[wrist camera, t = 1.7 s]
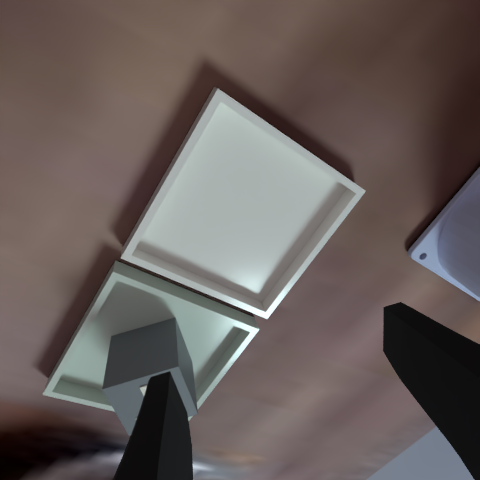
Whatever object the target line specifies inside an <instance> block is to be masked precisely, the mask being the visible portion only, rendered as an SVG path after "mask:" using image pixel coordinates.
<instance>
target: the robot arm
mask: <svg viewBox="0 0 480 480" xmlns="http://www.w3.org/2000/svg"><path fill="white" fill-rule="evenodd" d="M422 253H423V254H422ZM421 254H422V255H421ZM408 255H409V256H410V257H411V258H412V259H413V260H415V261H417V262H418V263H420V264H421V265H423V266H425V267H426V268H428V269H429V270H431V271H432V272H434V273H436V274H437V275H439V276H440V277H442V278H444V279H445V280H447V281H448V282H450V283H451V284H453V285H455V286H456V287H458V288H459V289H461V290H463V291H464V292H466V293H467V294H469V295H471V296H472V297H474V298H475V299H477V300H478V301H480V167H479V168H478V169H477V171H476V172H475V173H474V174H473V175H472V176H471V178H470V179H469V180H468V181H467V182H466V183H465V185H464V186H463V187H462V188H461V189H460V190H459V191H458V193H457V194H456V195H455V196H454V197H453V198H452V200H451V201H450V202H449V203H448V204H447V205H446V207H445V208H444V209H443V210H442V211H441V212H440V214H439V215H438V216H437V217H436V218H435V219H434V221H433V222H432V223H431V224H430V225H429V226H428V228H427V229H426V230H425V231H424V232H423V233H422V235H421V236H420V237H419V238H418V239H417V240H416V242H415V243H414V244H413V245H412V246H411V247H410V249H409V251H408ZM420 255H421V256H420ZM383 351H384V353H385V355H386V357H387V358H388V360H389V362H390V363H391V365H392V367H393V368H394V370H395V372H396V373H397V375H398V376H399V378H400V379H401V381H402V382H403V383H404V385H405V386H406V387H407V389H408V390H409V391H410V393H411V394H412V395H413V396H414V398H415V399H416V400H417V402H418V403H419V404H420V405H421V407H422V408H423V409H424V411H425V412H426V413H427V414H428V416H429V417H430V418H431V420H432V421H433V422H434V423H435V425H436V426H437V427H438V428H439V430H440V431H441V432H442V434H443V435H444V436H445V437H446V439H447V440H448V441H449V443H450V444H451V445H452V447H453V448H454V449H455V451H456V452H457V454H458V455H459V456H460V458H461V459H462V461H463V463H464V464H465V466H466V467H467V469H468V470H469V472H470V473H471V475H472V476H473V478H474V479H475V480H480V344H478V343H476V342H474V341H472V340H470V339H468V338H466V337H464V336H462V335H460V334H458V333H456V332H454V331H453V330H451V329H449V328H447V327H445V326H443V325H441V324H440V323H438V322H436V321H434V320H432V319H431V318H429V317H427V316H425V315H423V314H422V313H420V312H418V311H416V310H414V309H413V308H411V307H409V306H407V305H405V304H403V303H402V302H400V303H396V304H393V305H389V306H386V307H384V336H383ZM113 480H193V466H192V444H191V436H190V429H189V422H188V415H187V411H186V408H185V406H184V403H183V401H182V399H181V396H180V394H179V391H178V389H177V387H176V384H175V382H174V379H173V377H172V375H171V372H170V371H169V372H166V373H162V374H159V375H156V376H152V377H151V378H150V379H149V381H148V384H147V388H146V391H145V395H144V398H143V401H142V405H141V408H140V411H139V414H138V417H137V420H136V423H135V425H134V428H133V431H132V433H131V436H130V439H129V442H128V444H127V447H126V450H125V452H124V455H123V457H122V459H121V462H120V464H119V466H118V469H117V471H116V474H115V476H114V478H113Z"/></svg>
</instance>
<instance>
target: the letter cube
mask: <svg viewBox="0 0 480 480" xmlns="http://www.w3.org/2000/svg"><path fill="white" fill-rule="evenodd" d="M169 371H170V372H171V375H172V377H173V379H174V382H175V384H176V387H177V389H178V391H179V394H180V396H181V399H182V401H183V403H184V406H185V408H186V411H187V415H188V417H190V416H193V415H197V414H198V409H197V400H196V391H195V382H194V373H193V364H192V360H191V357H190V355H189V352H188V349H187V347H186V344H185V341H184V339H183V336H182V333H181V331H180V328H179V325H178V323H177V320H176V317H175V318H171V319H168V320H164V321H161V322H158V323H154V324H151V325H147V326H144V327H141V328H137V329H134V330H130V331H127V332H123V333H120V334H117V335H113V336H111V340H110V346H109V352H108V358H107V364H106V369H105V375H104V381H103V387H102V390H103V392H104V394H105V395H106V397H107V399H108V400H109V402H110V404H111V406H112V407H113V409H114V411H115V412H116V414H117V416H118V418H119V419H120V421H121V423H122V424H123V426H124V428H125V429H126V431H127V433H128V435H129V436H130V435H131V433H132V431H133V428H134V425H135V423H136V420H137V417H138V414H139V411H140V408H141V405H142V401H143V398H144V395H145V391H146V388H147V384H148V381H149V379H150V378H151V377H152V376H156V375H159V374H162V373H166V372H169Z"/></svg>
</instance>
